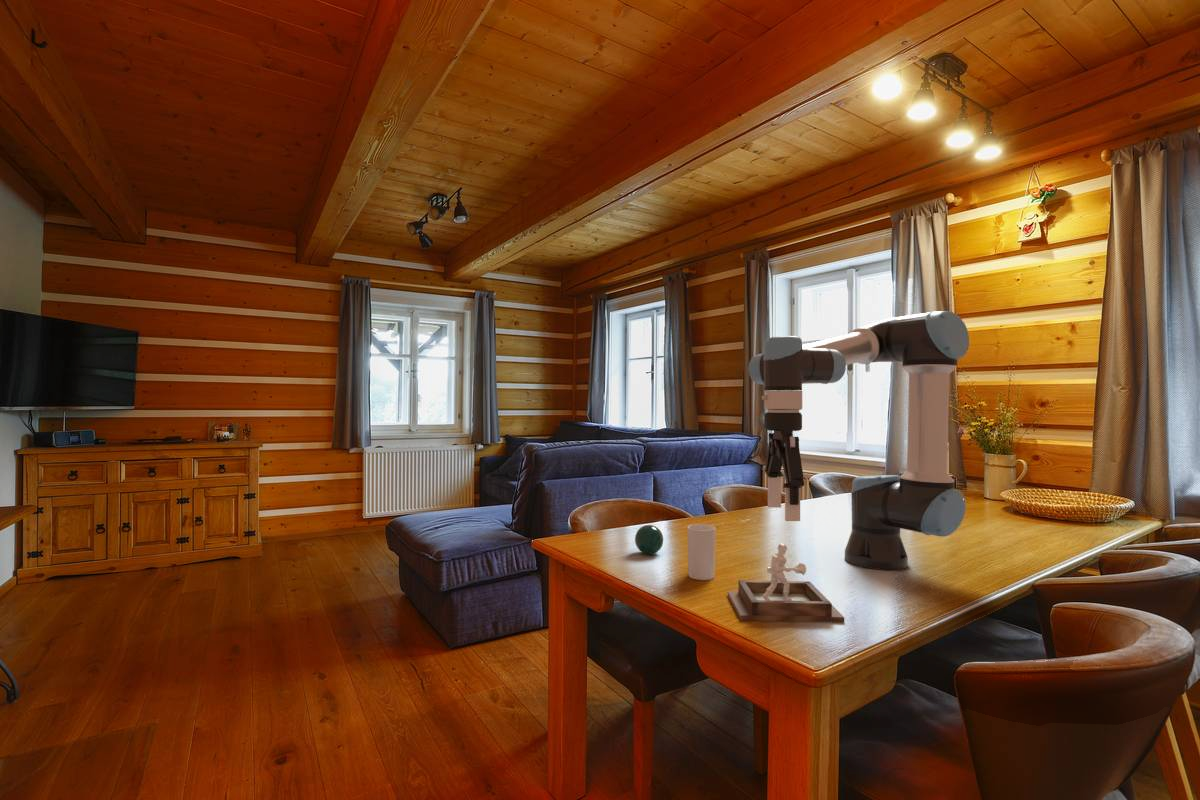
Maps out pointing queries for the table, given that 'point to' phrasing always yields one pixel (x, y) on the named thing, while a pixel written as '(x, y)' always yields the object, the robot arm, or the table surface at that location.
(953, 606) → the table surface
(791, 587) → the brown picture frame
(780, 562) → the figurine
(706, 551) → the mug
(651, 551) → the sphere
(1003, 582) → the table surface
